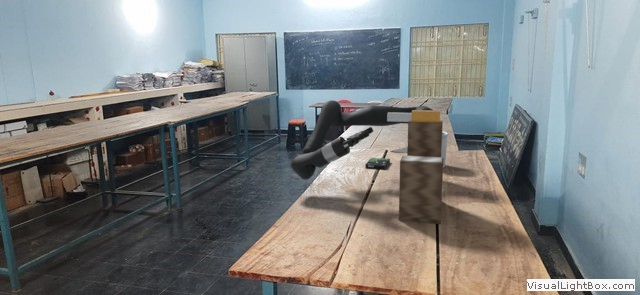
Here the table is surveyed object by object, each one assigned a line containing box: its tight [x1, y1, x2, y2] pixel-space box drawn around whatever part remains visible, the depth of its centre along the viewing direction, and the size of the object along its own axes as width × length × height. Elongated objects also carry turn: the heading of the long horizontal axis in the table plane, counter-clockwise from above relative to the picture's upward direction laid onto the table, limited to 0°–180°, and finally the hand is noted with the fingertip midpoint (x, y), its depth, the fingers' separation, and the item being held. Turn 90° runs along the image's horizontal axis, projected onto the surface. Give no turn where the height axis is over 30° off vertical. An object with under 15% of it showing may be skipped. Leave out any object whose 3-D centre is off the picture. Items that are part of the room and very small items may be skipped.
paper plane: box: [391, 146, 408, 154], centre depth 253 cm, size 26×28×4 cm
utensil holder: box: [441, 130, 449, 169], centre depth 214 cm, size 15×15×18 cm
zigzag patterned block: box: [398, 119, 444, 225], centre depth 151 cm, size 14×23×32 cm, turn 163°
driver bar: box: [387, 109, 441, 123], centre depth 156 cm, size 19×4×4 cm, turn 73°
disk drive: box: [365, 157, 391, 170], centre depth 219 cm, size 10×3×15 cm
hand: (370, 130), depth 162 cm, fingers open, 8 cm apart
